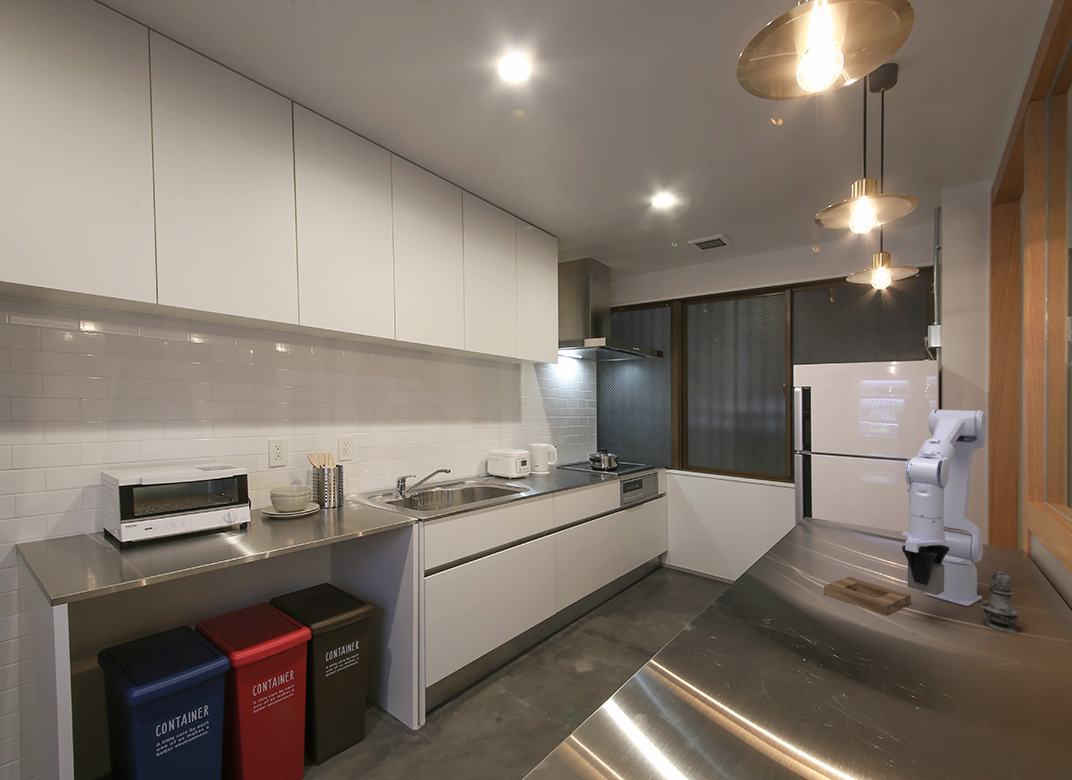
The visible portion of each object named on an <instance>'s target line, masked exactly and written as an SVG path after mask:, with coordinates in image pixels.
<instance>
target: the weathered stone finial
mask: <svg viewBox="0 0 1072 780" xmlns="http://www.w3.org/2000/svg"><path fill="white" fill-rule="evenodd" d="M1003 571H1004V570H1003V568H1002V567H999V569H998V571H995V572H992V573H991V575H990V576H991V577H990V578H991V580H990V581H991V583H990V585H991V586H990V587H988V590H989V591H990V599H989V602H985V603H981V605H980V606H981V608H982V610H983V613H984V615H985V616H986V618H988V619H984V620H982V624H983V625H984V626H986V627H988V628H991V629H993V630H996V631H999V632H1004V633H1008V634H1009V633H1010V634H1015V633H1018V632H1019V629H1018V628H1017V627H1015V626H1014V625H1012V624H1015V623H1016V622H1017V621H1018V619H1019V616H1021V612H1019V610H1016V609H1015V608H1013V606H1012V603H1011V600H1012V599H1011V598H1012V597H1011V596H1012V595H1013V594H1014V592H1012V591H1011V577H1010V575H1009V574H1007V573H1005V572H1003Z"/></svg>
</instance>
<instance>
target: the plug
mask: <svg viewBox="0 0 1072 780" xmlns="http://www.w3.org/2000/svg"><path fill="white" fill-rule="evenodd" d="M944 568H945V565H944V564H939V563H935V562H933V564H932V566H931V570H930V577H929V581H928V583H927V585H924V584H920V583H916V582H914V579H913V576H912V572H911V568H910V564H909V562H908V561H907V588H908V589H909V588H910V589H913V590H916V591H920V592H923V593H925V594H926V593H930V594H933V595H938V594H940V593H942V592H944Z"/></svg>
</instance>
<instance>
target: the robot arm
mask: <svg viewBox="0 0 1072 780" xmlns="http://www.w3.org/2000/svg"><path fill="white" fill-rule="evenodd" d="M986 415H987V414H986V413H985V412H984V411H983V410H982V409H979V410H965V409H964V410H962V409H961V410H960V409H959V410H958V409H938V408H934V409H932V410H931V411H930V413H929V415H928V430H929V431H930V434H931V436H932V437H931V438H927V439H926V440H925V441H924V442H923V443H922V445H921V446H920V448H919V450H918V452H917V454H916V455H915V456H914V457H912V458H911V459H910V458H908V459H907V460H906V462H905V467H904V477H905V481H906V492H908V495H909V496H908V497H909V499H908V503H909V504H908V531H903V532H902V533H901V536H902V537H905V538H907V539H906V540H905V545H902V546H901V550H902V553H903V554H904V556H905V558H906V560H907V563H908V562H909V564H910V568H911V572H912V576H913V579H914V582H916V583H920V584H924V585H927V583H928V581H929V577H930V570H931V566H932V564H933V562H935V563H939V564H944V565H945V568H944V592H942V593H940V594H938V595H933V594H930V593H926V592H925V595H927V596H929V597H933V598H936V599H940V600H944V601H947V602H951V603H954V604H957V605H960V606H965V607H970V606H972V605H973V604H975V603H976V602H978V601H980V600H982V599H983V596H982V595H979V594H977V593H978V569H977V567H976V566H975V564H978V563H979V562H980V561H981V560H982V558H983V553H984V552H983V551H984V542H983V532H982V530H981V528H979V526H978V525H976V524H975V523H974V522H972V521H971V520H970V519H968V518H969V516H968V515H969V514H968V513H969V504H970V502H969V501H970V491H971V490H970V489H971V475H972V464H973V463H972V461H973V457H974V453H975V451H976V450H978V449H981V448H984V447H985V443H986V437H987V416H986ZM954 530H955V531H954Z"/></svg>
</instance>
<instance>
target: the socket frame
mask: <svg viewBox="0 0 1072 780" xmlns="http://www.w3.org/2000/svg"><path fill="white" fill-rule="evenodd" d="M824 594H825V596H827V595H828V596H827V597H830V596H831V598H833V597H834V599H836V600H839V599H840V601H843V602H845V603H849V604H851V605H854V606H857V607H861V608H864V609H867V610H869V611H872V612H874V611H875V612H876V613H877V612H878V614H880V613H881V615H883V614H884V615H883V616H888V615H890V614H893V613H895V612H896V610H897V611H898V610H901V609H902V608H905V607H907V606H909V605H911V604H912V603H911V602H912V601H911V600H912V597H911V596H912V595H911V594H909V593H906V592H902V591H900V590H895V589H892V588H889V587H885V586H882V585H879V584H875V583H872V582H869V581H865V580H862V579H859V578H856V577H851V576H846V577H844V578H840V579H839V580H836V581H833V582H830V583H828V584H825V585H823V595H824ZM894 611H895V612H894ZM875 612H874V613H875ZM892 612H893V613H892Z"/></svg>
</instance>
